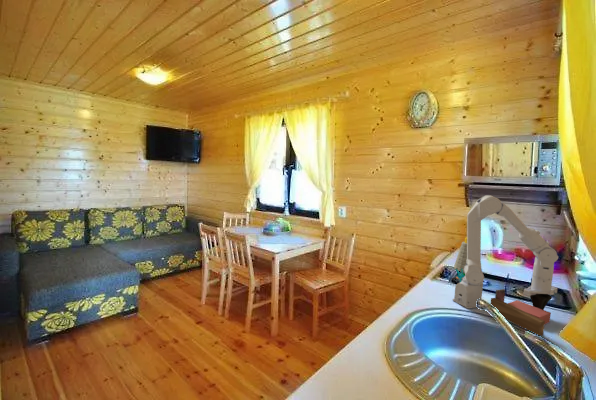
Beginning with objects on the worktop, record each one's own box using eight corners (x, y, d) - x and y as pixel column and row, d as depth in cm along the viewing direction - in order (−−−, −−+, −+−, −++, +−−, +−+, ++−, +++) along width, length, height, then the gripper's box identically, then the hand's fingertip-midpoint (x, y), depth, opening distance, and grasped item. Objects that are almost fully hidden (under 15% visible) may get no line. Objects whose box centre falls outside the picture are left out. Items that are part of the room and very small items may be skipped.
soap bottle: (456, 272, 158) (459, 234, 156) (451, 265, 170) (454, 229, 168) (482, 275, 155) (487, 236, 153) (476, 267, 167) (480, 231, 164)
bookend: (495, 310, 116) (497, 290, 115) (493, 309, 117) (496, 290, 116) (503, 309, 117) (505, 289, 116) (501, 308, 118) (503, 289, 117)
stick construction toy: (461, 282, 138) (456, 266, 142) (448, 286, 143) (443, 270, 147) (476, 285, 144) (471, 270, 148) (463, 289, 149) (458, 274, 153)
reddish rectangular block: (538, 328, 105) (539, 317, 104) (504, 314, 114) (505, 304, 114) (549, 323, 108) (550, 312, 108) (515, 309, 118) (517, 300, 117)
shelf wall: (538, 336, 99) (540, 321, 98) (489, 310, 116) (491, 298, 115) (543, 335, 99) (544, 321, 99) (493, 310, 116) (495, 297, 116)
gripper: (539, 282, 105) (534, 319, 107) (568, 279, 109) (563, 315, 111) (519, 275, 112) (515, 310, 114) (547, 272, 116) (543, 306, 118)
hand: (537, 312), depth 113 cm, fingers closed
